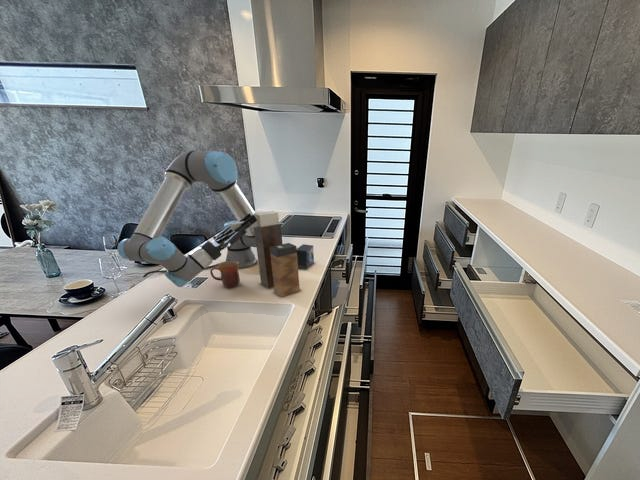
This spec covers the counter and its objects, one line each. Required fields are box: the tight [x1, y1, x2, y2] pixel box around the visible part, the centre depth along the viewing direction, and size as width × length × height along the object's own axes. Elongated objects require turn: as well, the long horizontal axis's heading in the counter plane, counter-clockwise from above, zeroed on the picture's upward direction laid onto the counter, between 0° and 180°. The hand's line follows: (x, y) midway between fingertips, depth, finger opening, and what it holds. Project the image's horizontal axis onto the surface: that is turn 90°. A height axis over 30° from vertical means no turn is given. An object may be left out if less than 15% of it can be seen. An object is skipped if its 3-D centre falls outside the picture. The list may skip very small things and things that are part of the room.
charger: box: [230, 210, 280, 231], centre depth 126 cm, size 20×5×5 cm, turn 135°
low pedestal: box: [270, 253, 301, 298], centre depth 131 cm, size 9×6×18 cm, turn 135°
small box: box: [296, 243, 315, 270], centre depth 161 cm, size 11×6×10 cm, turn 168°
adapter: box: [270, 242, 298, 257], centre depth 126 cm, size 9×6×3 cm, turn 135°
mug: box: [209, 260, 241, 289], centre depth 136 cm, size 12×9×10 cm
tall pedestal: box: [254, 223, 283, 289], centre depth 136 cm, size 9×7×28 cm
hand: (253, 216), depth 125 cm, fingers closed on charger, 3 cm apart
